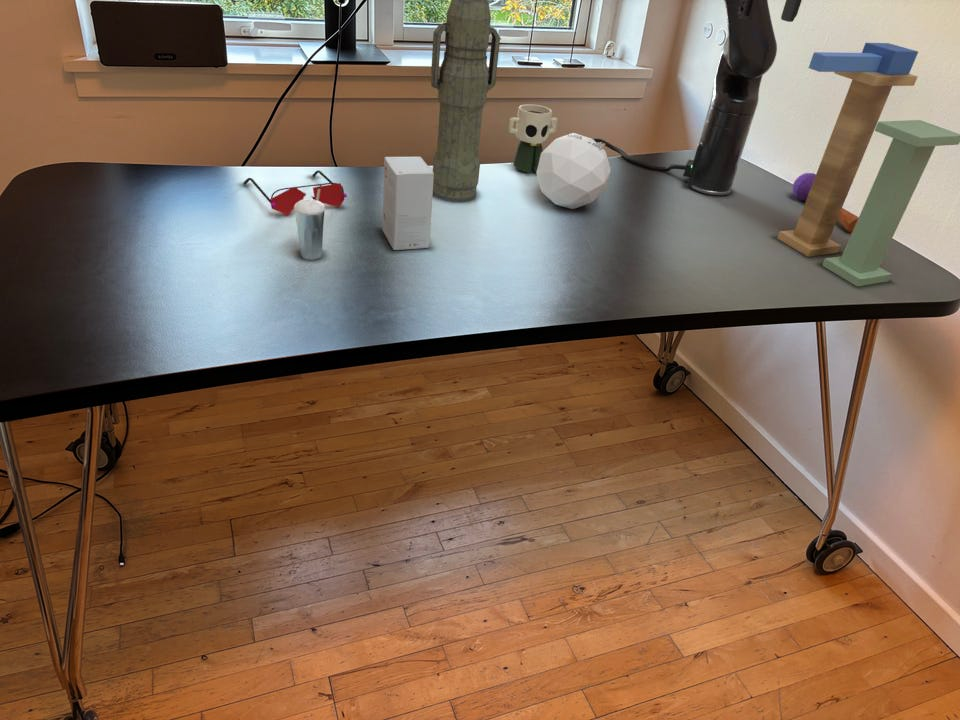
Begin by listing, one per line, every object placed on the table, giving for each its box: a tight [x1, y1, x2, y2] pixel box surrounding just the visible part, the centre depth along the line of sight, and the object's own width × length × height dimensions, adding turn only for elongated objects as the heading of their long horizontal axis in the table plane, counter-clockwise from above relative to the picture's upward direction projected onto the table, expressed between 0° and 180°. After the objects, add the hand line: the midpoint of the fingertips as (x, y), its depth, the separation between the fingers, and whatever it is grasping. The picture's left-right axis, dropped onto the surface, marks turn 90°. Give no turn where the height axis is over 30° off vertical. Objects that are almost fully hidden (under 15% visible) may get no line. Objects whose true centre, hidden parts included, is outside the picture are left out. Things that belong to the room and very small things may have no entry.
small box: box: [381, 156, 434, 251], centre depth 117 cm, size 8×6×13 cm
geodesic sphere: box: [535, 132, 612, 210], centre depth 137 cm, size 15×14×14 cm
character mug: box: [508, 103, 558, 173], centre depth 151 cm, size 11×7×13 cm, turn 109°
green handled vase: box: [430, 0, 501, 203], centre depth 130 cm, size 9×12×35 cm
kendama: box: [792, 172, 859, 234], centre depth 150 cm, size 6×6×20 cm
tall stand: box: [776, 72, 918, 258], centre depth 126 cm, size 10×8×32 cm
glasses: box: [242, 170, 348, 216], centre depth 129 cm, size 14×16×5 cm
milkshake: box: [293, 189, 326, 261], centre depth 110 cm, size 4×5×10 cm
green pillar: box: [822, 119, 960, 288], centre depth 120 cm, size 10×8×26 cm
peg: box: [808, 42, 919, 75], centre depth 114 cm, size 18×6×4 cm, turn 114°
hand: (765, 20), depth 111 cm, fingers open, 8 cm apart
